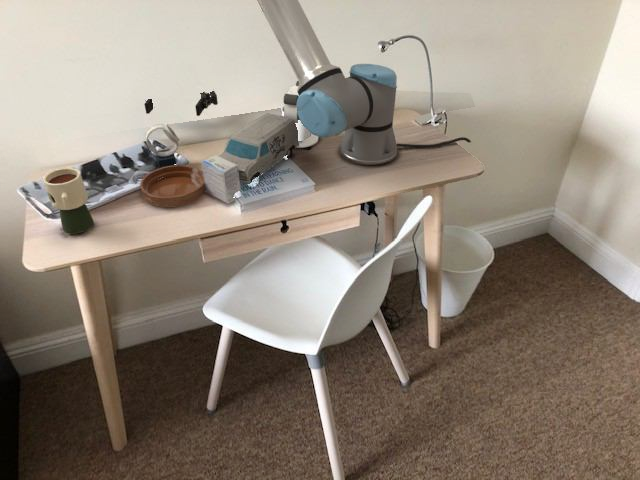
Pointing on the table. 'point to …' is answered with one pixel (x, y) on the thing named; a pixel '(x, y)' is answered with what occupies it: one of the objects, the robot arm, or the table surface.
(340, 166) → the table surface
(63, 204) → the character mug
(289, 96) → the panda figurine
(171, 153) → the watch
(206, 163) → the medicine box
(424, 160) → the table surface
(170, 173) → the bowl
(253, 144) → the toy car
